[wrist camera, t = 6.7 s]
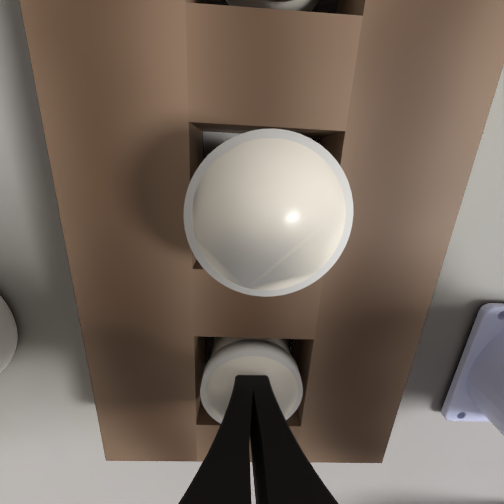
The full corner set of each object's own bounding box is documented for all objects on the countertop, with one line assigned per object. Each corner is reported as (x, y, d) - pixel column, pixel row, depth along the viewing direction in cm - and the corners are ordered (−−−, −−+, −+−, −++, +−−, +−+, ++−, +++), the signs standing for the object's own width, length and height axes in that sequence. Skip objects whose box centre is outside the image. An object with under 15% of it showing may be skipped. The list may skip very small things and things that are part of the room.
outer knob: (294, 310, 14) (308, 353, 11) (286, 377, 15) (297, 431, 12) (209, 308, 14) (199, 350, 11) (209, 376, 15) (200, 430, 12)
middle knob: (328, 141, 9) (368, 134, 6) (312, 259, 11) (339, 298, 8) (201, 134, 9) (180, 122, 6) (203, 255, 11) (186, 293, 8)
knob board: (513, -228, 8) (655, -433, 5) (358, 411, 17) (381, 462, 14) (39, -283, 8) (-83, -543, 5) (130, 407, 16) (105, 460, 13)
